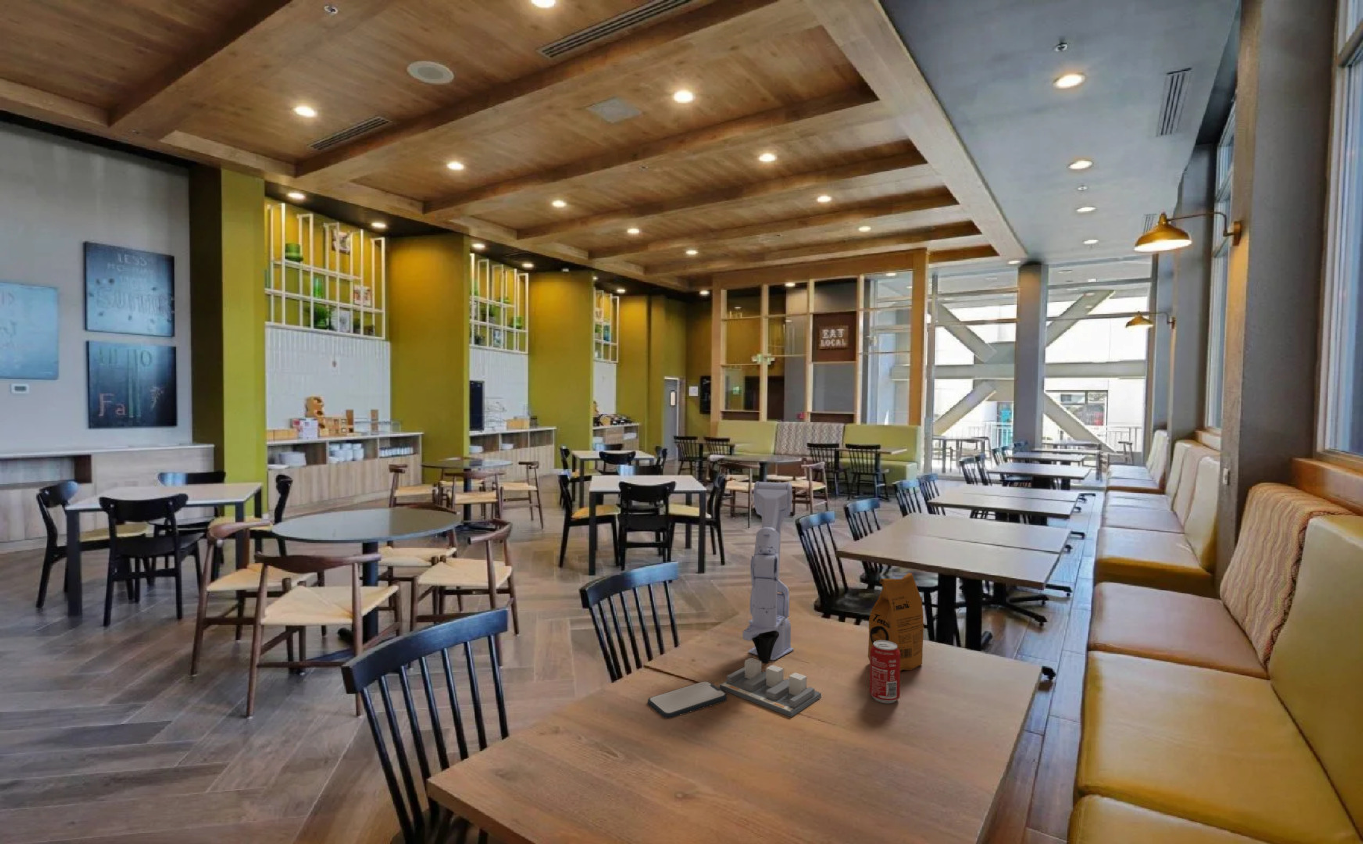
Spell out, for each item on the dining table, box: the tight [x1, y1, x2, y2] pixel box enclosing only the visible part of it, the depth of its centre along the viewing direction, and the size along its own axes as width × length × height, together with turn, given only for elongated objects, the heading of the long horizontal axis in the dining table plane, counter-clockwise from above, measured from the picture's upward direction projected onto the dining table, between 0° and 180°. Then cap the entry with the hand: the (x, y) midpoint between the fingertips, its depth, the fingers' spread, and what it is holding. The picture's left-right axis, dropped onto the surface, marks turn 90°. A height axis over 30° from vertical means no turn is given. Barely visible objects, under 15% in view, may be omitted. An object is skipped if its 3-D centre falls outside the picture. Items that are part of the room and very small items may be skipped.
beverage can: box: [869, 640, 901, 704], centre depth 142 cm, size 6×6×12 cm
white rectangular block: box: [765, 664, 784, 687], centre depth 146 cm, size 2×3×4 cm
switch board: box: [718, 666, 822, 718], centre depth 144 cm, size 12×19×2 cm, turn 48°
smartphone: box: [647, 680, 728, 719], centre depth 140 cm, size 9×2×16 cm
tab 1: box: [744, 657, 762, 679], centre depth 150 cm, size 2×3×4 cm
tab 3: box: [788, 672, 808, 696], centre depth 142 cm, size 2×3×4 cm
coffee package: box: [867, 572, 924, 672], centre depth 160 cm, size 10×12×22 cm
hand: (764, 662), depth 153 cm, fingers closed
